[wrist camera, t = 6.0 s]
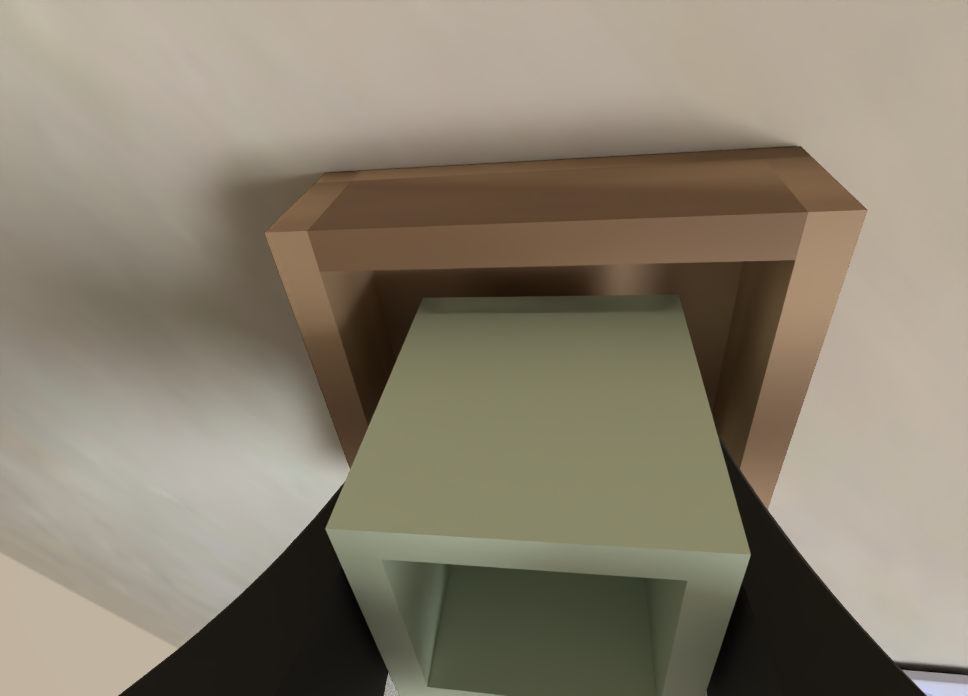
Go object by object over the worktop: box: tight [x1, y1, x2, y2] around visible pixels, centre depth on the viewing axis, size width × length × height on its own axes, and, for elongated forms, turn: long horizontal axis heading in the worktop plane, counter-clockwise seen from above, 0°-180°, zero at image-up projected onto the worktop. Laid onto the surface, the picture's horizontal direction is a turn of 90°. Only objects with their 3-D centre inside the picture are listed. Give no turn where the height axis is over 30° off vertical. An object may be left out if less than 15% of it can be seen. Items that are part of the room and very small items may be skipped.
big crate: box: [264, 146, 867, 510], centre depth 13 cm, size 10×10×3 cm
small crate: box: [325, 295, 751, 696], centre depth 10 cm, size 5×5×6 cm
